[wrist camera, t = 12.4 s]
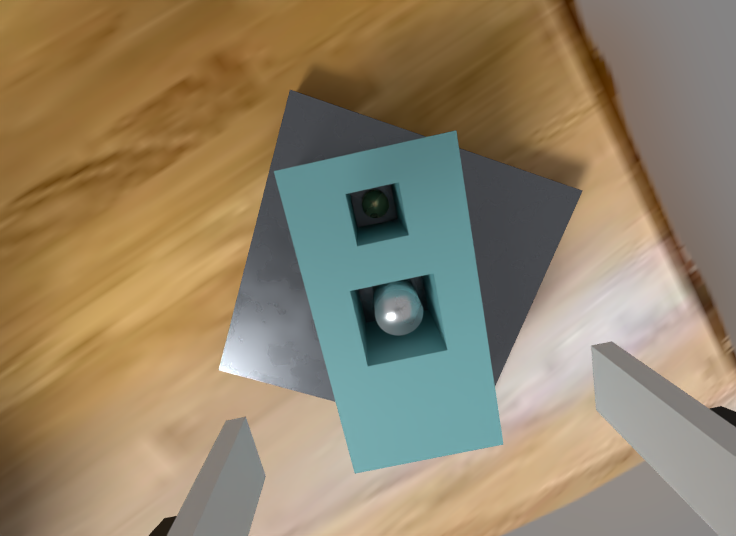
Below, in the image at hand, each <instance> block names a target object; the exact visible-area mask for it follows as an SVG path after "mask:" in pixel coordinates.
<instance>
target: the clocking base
mask: <svg viewBox="0 0 736 536" xmlns="http://www.w3.org/2000/svg"><path fill="white" fill-rule="evenodd" d="M420 138H425V136H423V135H420V134H417V133H414V132H411V131H408V130H405V129H402V128H399V127H396V126H394V125H391V124H388V123H385V122H382V121H379V120H376V119H373V118H370V117H368V116H365V115H362V114H359V113H356V112H353V111H350V110H347V109H344V108H342V107H339V106H336V105H333V104H330V103H327V102H324V101H321V100H318V99H315V98H313V97H310V96H307V95H304V94H301V93H298V92H295V91H292V90H290V92H289V96H288V100H287V104H286V108H285V112H284V115H283V119H282V123H281V127H280V131H279V135H278V139H277V143H276V147H275V151H274V155H273V159H272V163H271V167H270V171H269V174H268V178H267V182H266V186H265V190H264V194H263V198H262V202H261V206H260V210H259V214H258V218H257V222H256V226H255V230H254V233H253V237H252V241H251V245H250V249H249V253H248V257H247V261H246V265H245V269H244V273H243V277H242V281H241V285H240V289H239V293H238V296H237V300H236V304H235V308H234V312H233V316H232V320H231V324H230V328H229V332H228V336H227V340H226V344H225V348H224V352H223V355H222V359H221V363H220V367H219V370H220V371H224V372H228V373H231V374H235V375H239V376H242V377H246V378H250V379H253V380H257V381H261V382H265V383H268V384H272V385H276V386H279V387H283V388H287V389H290V390H294V391H298V392H301V393H305V394H309V395H313V396H316V397H320V398H324V399H327V400H331V401H335V398H334V394H333V390H332V386H331V383H330V379H329V375H328V372H327V368H326V364H325V360H324V357H323V353H322V349H321V345H320V342H319V338H318V334H317V331H316V327H315V323H314V319H313V316H312V312H311V308H310V305H309V301H308V297H307V293H306V290H305V286H304V282H303V278H302V275H301V271H300V267H299V264H298V260H297V256H296V252H295V249H294V245H293V241H292V237H291V234H290V230H289V226H288V223H287V219H286V215H285V211H284V208H283V204H282V200H281V196H280V193H279V189H278V185H277V182H276V178H275V174H274V171H277V170H282V169H286V168H291V167H295V166H300V165H304V164H309V163H313V162H317V161H322V160H326V159H331V158H335V157H340V156H344V155H349V154H353V153H358V152H362V151H367V150H371V149H376V148H380V147H384V146H389V145H393V144H398V143H402V142H407V141H411V140H416V139H420ZM459 152H460V159H461V165H462V172H463V179H464V185H465V192H466V199H467V205H468V212H469V219H470V225H471V232H472V239H473V245H474V252H475V258H476V265H477V272H478V278H479V285H480V292H481V298H482V305H483V312H484V318H485V325H486V332H487V338H488V345H489V352H490V358H491V365H492V372H493V378H494V385H496V383H497V381H498V378H499V376H500V374H501V372H502V370H503V367H504V365H505V363H506V361H507V358H508V356H509V354H510V352H511V349H512V347H513V345H514V343H515V341H516V338H517V336H518V334H519V332H520V329H521V327H522V325H523V323H524V320H525V318H526V316H527V314H528V311H529V309H530V307H531V305H532V303H533V300H534V298H535V296H536V294H537V291H538V289H539V287H540V285H541V282H542V280H543V278H544V276H545V273H546V271H547V269H548V267H549V265H550V262H551V260H552V258H553V256H554V253H555V251H556V249H557V247H558V244H559V242H560V240H561V238H562V235H563V233H564V231H565V229H566V227H567V224H568V222H569V220H570V218H571V215H572V213H573V211H574V209H575V206H576V204H577V202H578V200H579V198H580V195H581V193H582V190H579V189H576V188H573V187H570V186H567V185H564V184H561V183H558V182H556V181H553V180H550V179H547V178H544V177H541V176H538V175H535V174H532V173H530V172H527V171H524V170H521V169H518V168H515V167H512V166H509V165H506V164H504V163H501V162H498V161H495V160H492V159H489V158H486V157H483V156H480V155H477V154H475V153H472V152H469V151H466V150H463V149H460V148H459ZM350 195H351V199H352V204H353V208H354V213H355V217H356V222H357V226H358V227H363V226H367V225H372V224H376V223H381V222H386V221H390V220H395V219H398V218H397V213H396V208H395V203H394V198H393V193H392V188H391V184H389V185H384V186H380V187H375V188H371V189H366V190H362V191H357V192H353V193H350ZM358 290H359V295H360V299H361V303H362V307H363V312H364V316H365V320H366V323H367V322H372V321H377V323H378V325H379V326H380V328H381V329H382V330H384V331H385V332H387V333H389V334H391V335H405V334H408V333H410V332H412V331H414V330H415V329H416V328H417V327H418V326H419V324H420V323H421V320H422V317H423V311H425V310H428V304H427V299H426V294H425V288H424V283H423V278H422V276H418V277H414V278H409V279H404V280H400V281H395V282H390V283H385V284H381V285H376V286H371V287H366V288H362V289H358ZM335 402H336V401H335Z"/></svg>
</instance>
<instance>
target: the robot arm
mask: <svg viewBox="0 0 736 536" xmlns="http://www.w3.org/2000/svg"><path fill="white" fill-rule="evenodd" d="M591 351H592V364H593V376H594V389H595V402H596V410H597V411H598V412H599V413H600V414H601V415H602V416H603V417H604V419H605V420H606V421H607V422H608V423H609V424H610V425H611V426H612V427H613V428H614V429H615V430H616V431H617V432H618V433H619V434H620V435H621V436H622V437H623V438H624V439H625V440H626V441H627V442H628V443H629V444H630V445H631V446H632V447H633V448H634V449H635V450H636V451H637V452H638V453H639V454H640V455H641V456H642V457H643V458H644V459H645V461H646V462H647V463H649V465H650V466H651V467H652V468H653V469H654V470H655V471H656V472H657V473H658V474H659V475H660V476H661V477H662V478H663V479H664V480H665V481H666V482H667V483H668V484H669V485H670V486H671V487H672V488H673V489H674V490H675V491H676V492H677V493H678V494H679V495H680V496H681V497H682V498H683V499H684V500H685V501H686V503H688V505H689V506H691V508H692V509H693V510H694V511H695V512H696V513H697V514H698V515H699V516H700V517H701V518H702V519H703V520H704V521H705V522H706V523H707V524H708V525H709V526H710V527H711V528H712V529H713V530H714V531H715V532H716V533H717V534H718V535H719V536H736V412H735V411H732V410H730V409H727V408H725V407H722V406H720V407H715V408H710V409H709V408H707V407H706V406H704V405H703V404H701V403H700V402H698V401H697V400H696V399H694V398H693V397H691V396H690V395H688V394H687V393H685V392H684V391H683V390H681V389H680V388H678V387H677V386H675V385H674V384H672V383H671V382H670V381H668V380H667V379H665V378H664V377H662V376H661V375H659V374H658V373H657V372H655V371H654V370H652V369H651V368H649V367H648V366H646V365H645V364H644V363H642V362H641V361H639V360H638V359H636V358H635V357H633V356H632V355H631V354H629V353H628V352H626V351H625V350H623V349H622V348H620V347H619V346H618V345H616V344H615V343H613V342H607V343H602V344H597V345H592V346H591ZM265 477H266V476H265V473H264V470H263V467H262V464H261V461H260V458H259V455H258V452H257V449H256V446H255V443H254V440H253V437H252V434H251V431H250V428H249V425H248V422H247V419H246V417H242V418H237V419H232V420H227V421H226V422H225V424H224V426H223V428H222V430H221V431H220V433H219V435H218V437H217V439H216V441H215V443H214V445H213V447H212V449H211V451H210V453H209V455H208V457H207V459H206V461H205V463H204V464H203V466H202V468H201V470H200V472H199V474H198V476H197V478H196V480H195V482H194V484H193V486H192V488H191V490H190V492H189V494H188V496H187V497H186V499H185V501H184V503H183V505H182V507H181V509H180V511H179V513H178V515H177V516H174V517H169V518H164V519H163V520H162V521H161V523H160V524H159V525H158V526H157V527H156V528H155V529H154V530H153V531H152V532H151V533H150V535H149V536H248V534H249V531H250V528H251V524H252V521H253V517H254V514H255V511H256V507H257V504H258V501H259V497H260V494H261V490H262V487H263V484H264V480H265Z"/></svg>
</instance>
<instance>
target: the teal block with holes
mask: <svg viewBox="0 0 736 536" xmlns="http://www.w3.org/2000/svg"><path fill="white" fill-rule="evenodd" d="M274 174H275V178H276V182H277V185H278V189H279V193H280V196H281V200H282V204H283V208H284V211H285V215H286V219H287V223H288V226H289V230H290V234H291V237H292V241H293V245H294V249H295V252H296V256H297V260H298V264H299V267H300V271H301V275H302V278H303V282H304V286H305V290H306V293H307V297H308V301H309V305H310V308H311V312H312V316H313V319H314V323H315V327H316V331H317V334H318V338H319V342H320V345H321V349H322V353H323V357H324V360H325V364H326V368H327V372H328V375H329V379H330V383H331V386H332V390H333V394H334V398H335V401H336V405H337V409H338V413H339V416H340V420H341V424H342V427H343V431H344V435H345V439H346V442H347V446H348V450H349V454H350V457H351V461H352V465H353V468H354V472H355V473H360V472H365V471H370V470H375V469H380V468H385V467H391V466H396V465H401V464H406V463H411V462H416V461H421V460H426V459H431V458H437V457H442V456H447V455H452V454H457V453H462V452H467V451H472V450H477V449H482V448H488V447H493V446H498V445H503V438H502V432H501V425H500V418H499V412H498V405H497V398H496V392H495V385H494V378H493V372H492V365H491V358H490V352H489V345H488V338H487V332H486V325H485V318H484V312H483V305H482V298H481V292H480V285H479V278H478V272H477V265H476V258H475V252H474V245H473V239H472V232H471V225H470V219H469V212H468V205H467V199H466V192H465V185H464V179H463V172H462V165H461V159H460V152H459V145H458V139H457V132H456V131H452V132H447V133H443V134H438V135H434V136H429V137H425V138H420V139H416V140H411V141H407V142H402V143H398V144H393V145H389V146H384V147H380V148H376V149H371V150H367V151H362V152H358V153H353V154H349V155H344V156H340V157H335V158H331V159H326V160H322V161H317V162H313V163H309V164H304V165H300V166H295V167H291V168H286V169H282V170H277V171H274ZM389 184H391V188H392V193H393V198H394V203H395V208H396V213H397V218H398V219H395V220H390V221H386V222H381V223H376V224H372V225H367V226H363V227H358V226H357V222H356V217H355V213H354V208H353V204H352V199H351V195H350V193H353V192H357V191H362V190H366V189H371V188H375V187H380V186H384V185H389ZM418 276H422V278H423V283H424V288H425V294H426V299H427V304H428V310H425V311H423V317H422V320H421V323H420V324H419V326H418V327H417V328H416V329H415V330H414V331H412V332H410V333H408V334H405V335H391V334H389V333H387V332H385V331H384V330H382V329H381V328H380V326H379V325H378V323H377V321H372V322H367V323H366V320H365V316H364V312H363V307H362V303H361V299H360V295H359V290H358V289H362V288H366V287H371V286H376V285H381V284H385V283H390V282H395V281H400V280H404V279H409V278H414V277H418Z"/></svg>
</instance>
